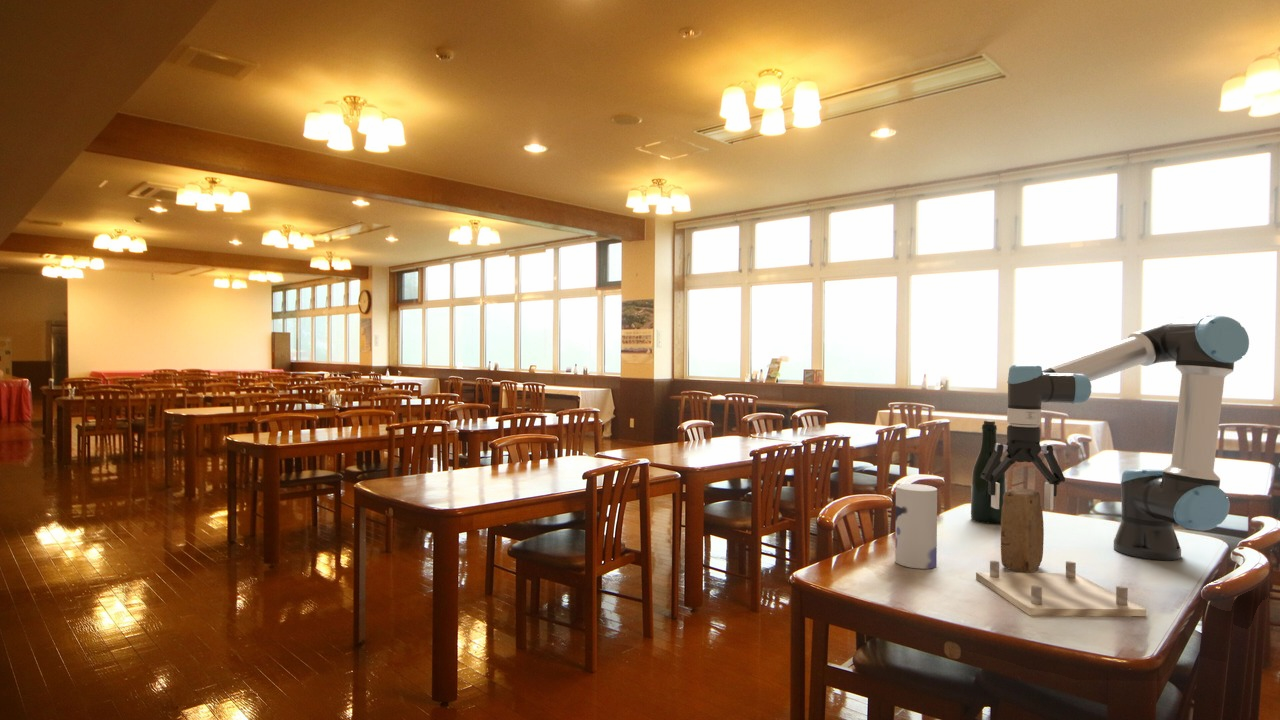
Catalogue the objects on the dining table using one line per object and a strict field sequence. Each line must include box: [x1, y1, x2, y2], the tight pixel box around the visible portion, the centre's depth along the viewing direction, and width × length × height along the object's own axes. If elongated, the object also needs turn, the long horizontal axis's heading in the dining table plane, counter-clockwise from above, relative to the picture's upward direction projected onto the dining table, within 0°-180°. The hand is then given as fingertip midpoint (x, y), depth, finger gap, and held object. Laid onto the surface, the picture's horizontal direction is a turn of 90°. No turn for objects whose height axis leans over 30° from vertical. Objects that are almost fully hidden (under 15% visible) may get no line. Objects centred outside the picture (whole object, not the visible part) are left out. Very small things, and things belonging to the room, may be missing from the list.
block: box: [1000, 487, 1045, 573], centre depth 178 cm, size 11×8×20 cm
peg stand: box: [975, 560, 1147, 617], centre depth 158 cm, size 24×24×5 cm
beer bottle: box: [970, 420, 1007, 525], centre depth 229 cm, size 10×10×33 cm
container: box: [894, 483, 938, 570], centre depth 182 cm, size 10×10×20 cm
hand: (1021, 508), depth 178 cm, fingers open, 13 cm apart
